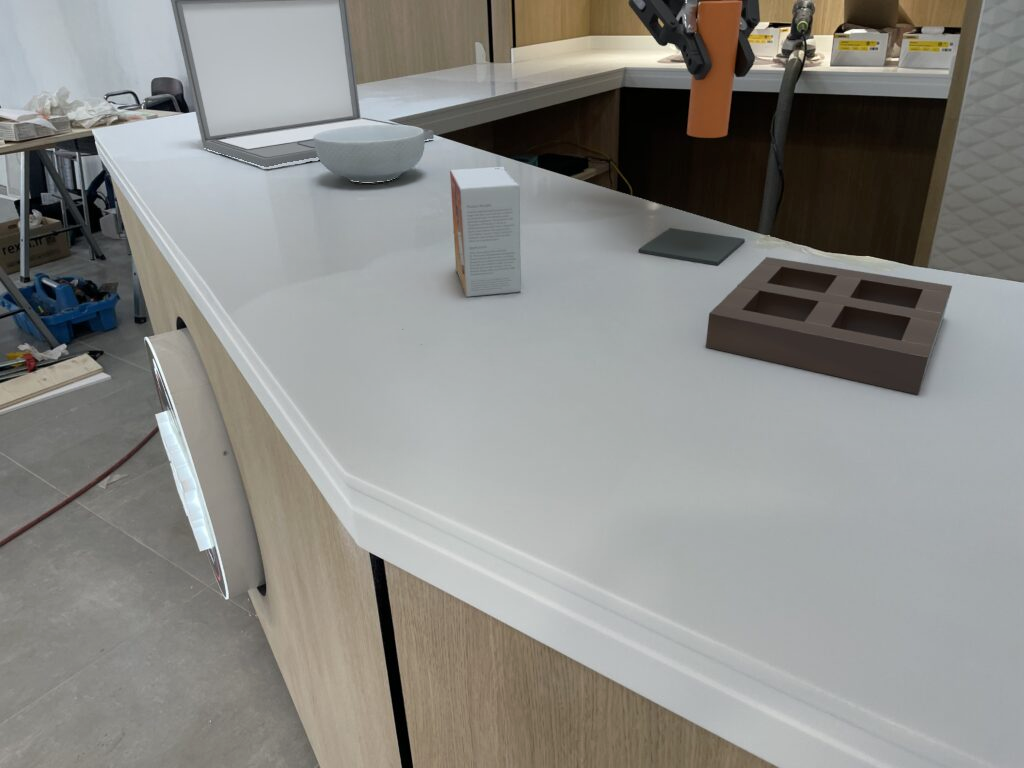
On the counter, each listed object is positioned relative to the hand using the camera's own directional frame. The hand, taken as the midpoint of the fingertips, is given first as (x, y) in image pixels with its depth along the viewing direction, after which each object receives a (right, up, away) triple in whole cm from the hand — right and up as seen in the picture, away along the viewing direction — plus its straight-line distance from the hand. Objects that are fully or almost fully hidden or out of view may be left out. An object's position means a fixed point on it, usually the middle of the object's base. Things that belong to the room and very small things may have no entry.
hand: (725, 71), depth 70 cm
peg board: (+6, -26, -9) cm, 28 cm away
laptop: (-58, +16, +72) cm, 94 cm away
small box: (-23, -20, +4) cm, 30 cm away
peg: (-1, -4, +4) cm, 6 cm away
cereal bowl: (-42, +3, +46) cm, 62 cm away
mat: (0, -15, +12) cm, 19 cm away
